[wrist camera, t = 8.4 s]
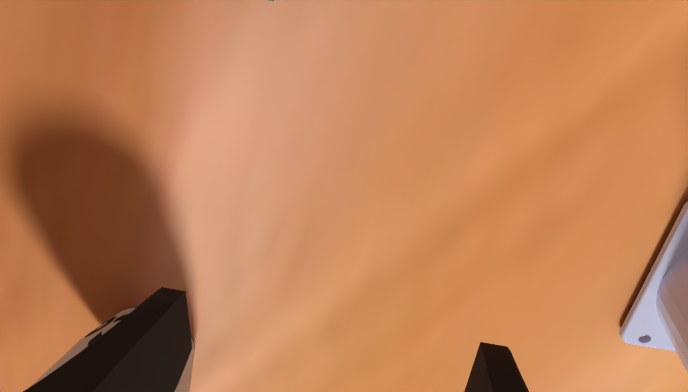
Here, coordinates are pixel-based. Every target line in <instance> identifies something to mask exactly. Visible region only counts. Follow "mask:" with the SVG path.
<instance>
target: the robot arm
mask: <svg viewBox="0 0 688 392" xmlns="http://www.w3.org/2000/svg"><path fill="white" fill-rule="evenodd" d="M619 334H620V336H621V338H622V341H624V342H625V343H628V344H632V345H639V346H645V347H652V348H658V349H665V350H671V351H676V352H677V354H678V356H679V357H680V359H681V361H682V363H683V365H684V367H685V369H686V371H687V373H688V201H687V202H686V203H685V205H684V206H683V208H682V210H681V212H680V214H679V216H678V218H677V220H676V222H675V223H674V225H673V227H672V229H671V231H670V233H669V235H668V237H667V239H666V241H665V243H664V245H663V247H662V249H661V251H660V253H659V255H658V257H657V259H656V261H655V263H654V264H653V266H652V268H651V270H650V272H649V274H648V276H647V278H646V280H645V282H644V284H643V286H642V288H641V290H640V292H639V294H638V296H637V298H636V300H635V302H634V304H633V305H632V307H631V309H630V311H629V313H628V315H627V317H626V319H625V321H624V323H623V325H622V327H621V329H620V332H619ZM643 335H646V336H643ZM640 336H643V337H640ZM191 350H192V341H191V333H190V325H189V316H188V308H187V300H186V292H185V291H180V290H174V289H169V288H163V287H162V288H160V289H159V290H158V291H156V292H155V293H154V294H153V295H151V296H150V297H149V298H148V299H146V300H145V301H144V302H143V303H141V304H140V305H139V306H138V307H137V308H135V309H134V310H133V311H132V312H130V313H129V314H128V315H127V316H126V317H124V318H123V319H122V320H121V321H119V322H118V323H117V324H116V325H114V326H113V327H112V328H111V329H109V330H108V331H107V332H105V333H104V334H103V335H102V336H100V337H99V338H98V339H96V340H95V341H94V342H93V343H91V344H90V345H89V346H87V347H86V348H85V349H83V350H82V351H81V352H79V353H78V354H77V355H75V356H74V357H73V358H71V359H70V360H68V361H67V362H66V363H64V364H63V365H61V366H60V367H59V368H57V369H56V370H54V371H53V372H52V373H50V374H49V375H47V376H46V377H44V378H43V379H42V380H40V381H39V382H37V383H36V384H34V385H33V386H31V387H30V388H28V389H26V390H25V391H23V392H174V391H175V390H176V388H177V385H178V383H179V381H180V378H181V376H182V373H183V371H184V368H185V366H186V363H187V361H188V358H189V356H190V353H191ZM465 392H529V391H528V389H527V387H526V384H525V382H524V380H523V378H522V376H521V374H520V372H519V369H518V367H517V365H516V363H515V360H514V358H513V356H512V353H511V351H510V350H509V348H508V347H506V346H500V345H494V344H488V343H483V342H480V346H479V349H478V352H477V355H476V358H475V361H474V364H473V367H472V370H471V373H470V376H469V379H468V382H467V385H466V388H465Z"/></svg>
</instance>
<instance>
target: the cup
mask: <svg viewBox="0 0 688 392" xmlns="http://www.w3.org/2000/svg"><path fill="white" fill-rule="evenodd" d="M134 309H135V308H129V309H125V310H123V311H121V312H119V313H118V314H116V315H115V316H113V317H112V318H111V319H109V320H108V321H106V322H105V323H104V324H102V325H101V326H99V327H98V328H96V329H95V330H94V331H92V332H91V333H89V334H88V335H86V336H85V337H84V338H82V339H81V340H80V341H79V342H78V343H77V344H76V345H75V346H73V347H72V348H71V349H70V350H69V351H68V352H67V353H66V354H65V355H64V356H63V357H62V358H61V359H60V360H58V361H57V362H56V363H55V364H54V365H53V366H52V367H51V368H50V369H49V370H48V371H47V372H46V373H45V374H43V375H42V376H41V377H40V378H39V379H38V380H37V381H36V382H35V383H34V384H36V383H37V382H39V381H40V380H42V379H43V378H44V377H46V376H47V375H49V374H50V373H52V372H53V371H54V370H56V369H57V368H59V367H60V366H61V365H63V364H64V363H66V362H67V361H68V360H70V359H71V358H73V357H74V356H75V355H77V354H78V353H79V352H81V351H82V350H83V349H85V348H86V347H87V346H89V345H90V344H91V343H93V342H94V341H95V340H96V339H98V338H99V337H100V336H102V335H103V334H104V333H105V332H107V331H108V330H109V329H111V328H112V327H113V326H114V325H116V324H117V323H118V322H119V321H121V320H122V319H123V318H124V317H126V316H127V315H128V314H129V313H130V312H132V311H133V310H134ZM191 341H192V350H191V353H190V356H189V358H188V361H187V363H186V366H185V368H184V371H183V373H182V376H181V378H180V381H179V383H178V385H177V388H176V390H175V391H174V392H189V391H190V383H191V375H192V366H193V358H194V343H193V340H192V338H191ZM34 384H33V385H34ZM33 385H32V386H33Z"/></svg>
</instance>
